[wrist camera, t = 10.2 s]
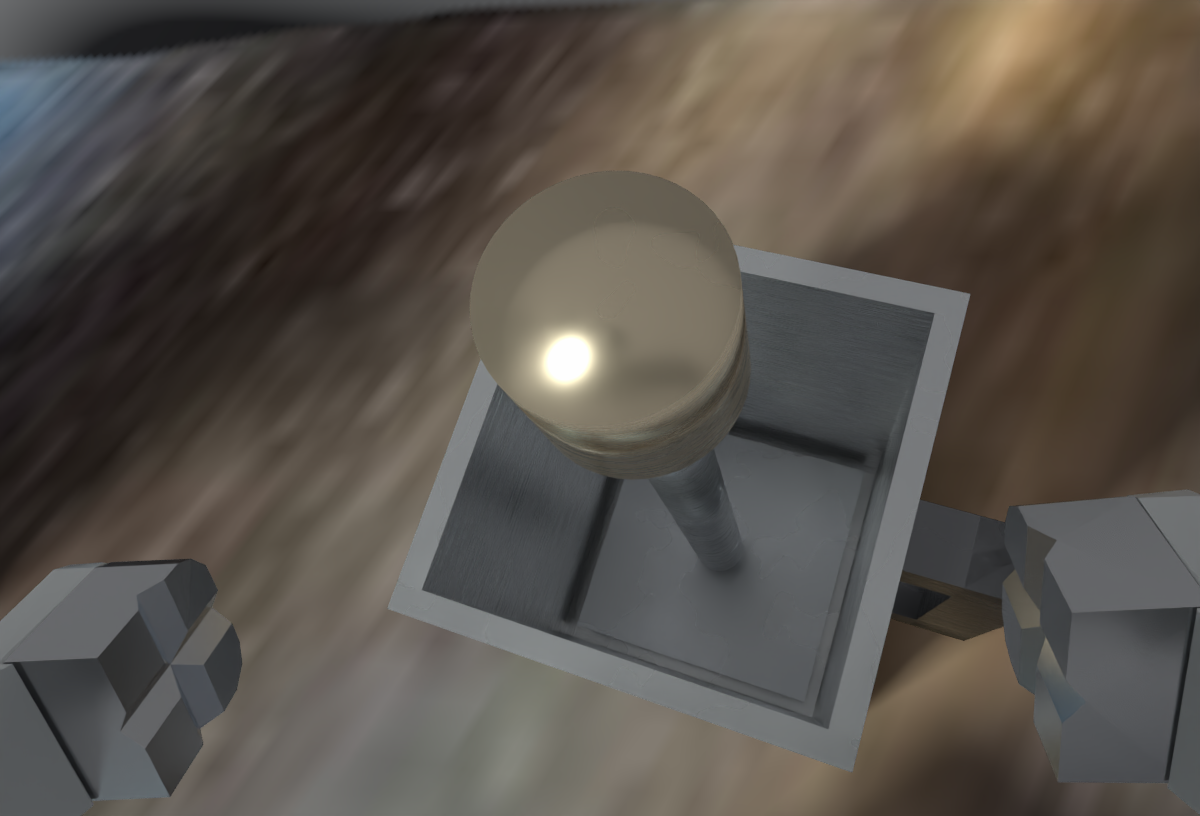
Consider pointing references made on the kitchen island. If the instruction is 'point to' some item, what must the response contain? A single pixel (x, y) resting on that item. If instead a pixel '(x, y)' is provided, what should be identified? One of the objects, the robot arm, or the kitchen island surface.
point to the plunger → (664, 424)
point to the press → (769, 416)
